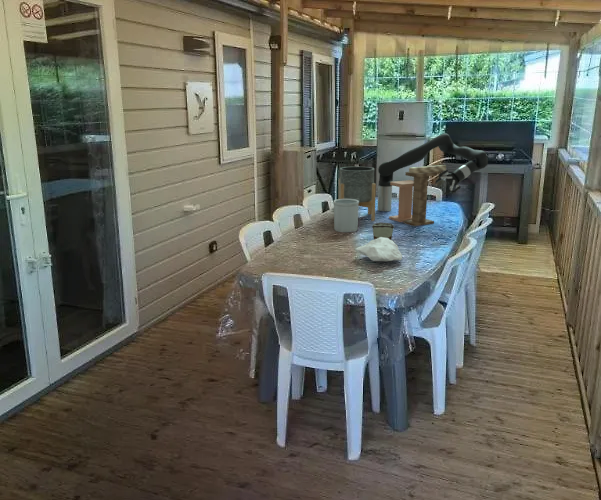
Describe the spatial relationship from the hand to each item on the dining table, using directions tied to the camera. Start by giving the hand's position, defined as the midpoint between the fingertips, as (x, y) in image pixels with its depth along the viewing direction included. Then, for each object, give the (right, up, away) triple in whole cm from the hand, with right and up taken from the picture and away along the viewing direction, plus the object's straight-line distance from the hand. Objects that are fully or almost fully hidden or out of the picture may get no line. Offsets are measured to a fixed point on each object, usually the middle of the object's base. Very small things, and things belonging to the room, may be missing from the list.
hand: (440, 188), depth 332 cm
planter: (-48, -16, +30) cm, 59 cm away
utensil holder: (-57, -25, -3) cm, 63 cm away
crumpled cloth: (-46, -42, -61) cm, 87 cm away
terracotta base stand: (-17, -17, +24) cm, 34 cm away
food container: (-39, -33, -30) cm, 59 cm away
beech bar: (-6, +11, +6) cm, 14 cm away
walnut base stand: (-11, -21, +12) cm, 26 cm away
